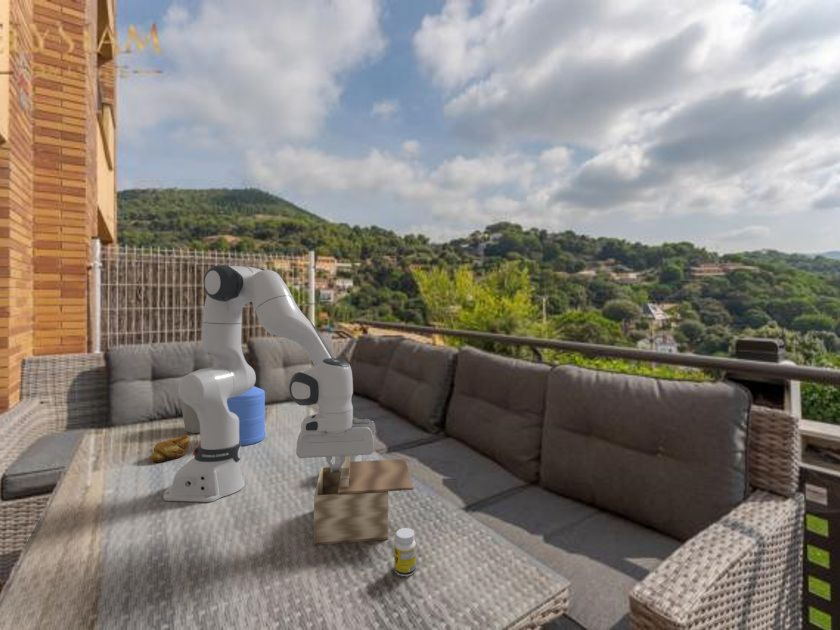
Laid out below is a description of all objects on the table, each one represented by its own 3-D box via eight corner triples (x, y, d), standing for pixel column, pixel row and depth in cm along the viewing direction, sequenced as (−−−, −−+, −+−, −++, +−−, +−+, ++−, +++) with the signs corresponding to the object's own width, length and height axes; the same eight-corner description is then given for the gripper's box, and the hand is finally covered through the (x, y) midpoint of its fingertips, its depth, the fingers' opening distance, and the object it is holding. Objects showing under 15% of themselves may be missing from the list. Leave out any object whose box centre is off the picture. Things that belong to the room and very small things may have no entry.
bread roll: (154, 466, 143) (154, 444, 143) (144, 460, 149) (143, 438, 148) (192, 455, 153) (192, 435, 153) (181, 450, 159) (181, 430, 159)
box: (313, 545, 96) (314, 496, 96) (321, 507, 114) (321, 466, 114) (387, 539, 99) (388, 491, 99) (383, 503, 117) (384, 463, 117)
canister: (197, 423, 195) (197, 380, 194) (231, 425, 192) (231, 381, 192) (169, 435, 177) (169, 388, 176) (206, 437, 174) (206, 389, 174)
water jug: (272, 438, 173) (272, 374, 173) (239, 449, 160) (239, 380, 160) (250, 432, 182) (250, 371, 181) (217, 441, 169) (217, 376, 168)
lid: (337, 494, 97) (337, 482, 97) (341, 464, 115) (341, 454, 115) (413, 489, 99) (413, 477, 99) (405, 461, 118) (405, 451, 118)
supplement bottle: (394, 563, 90) (394, 527, 90) (414, 562, 90) (415, 526, 90) (394, 578, 85) (394, 539, 85) (416, 577, 86) (416, 538, 85)
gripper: (375, 415, 110) (374, 464, 110) (298, 418, 107) (299, 469, 107) (375, 422, 104) (375, 474, 104) (294, 425, 101) (295, 479, 101)
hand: (336, 471), depth 106 cm, fingers closed
